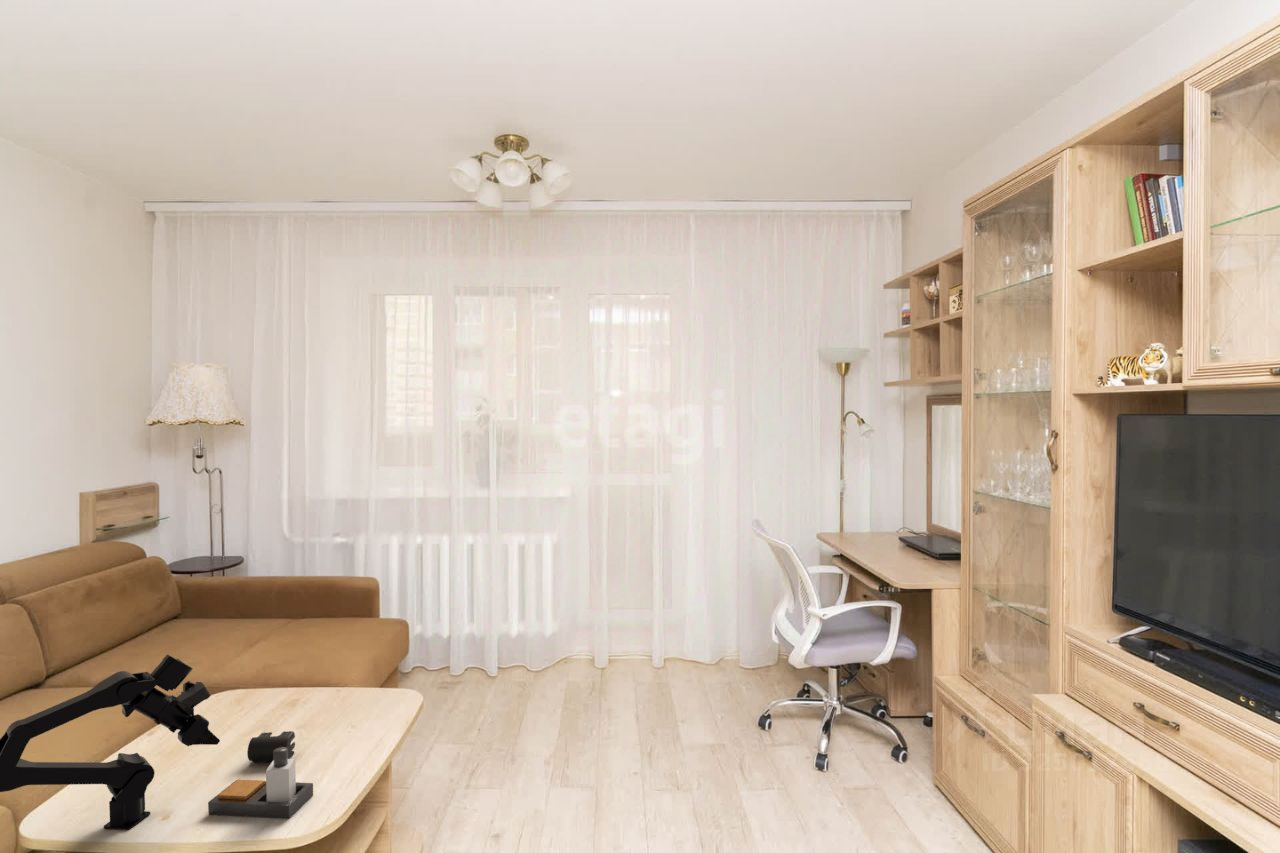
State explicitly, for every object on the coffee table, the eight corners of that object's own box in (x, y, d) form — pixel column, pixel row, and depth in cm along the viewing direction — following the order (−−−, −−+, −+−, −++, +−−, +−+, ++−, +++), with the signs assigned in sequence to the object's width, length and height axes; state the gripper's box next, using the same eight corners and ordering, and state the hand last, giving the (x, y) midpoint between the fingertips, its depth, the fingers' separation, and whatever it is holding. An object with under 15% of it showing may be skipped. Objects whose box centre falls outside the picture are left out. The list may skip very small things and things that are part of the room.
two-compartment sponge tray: (289, 818, 164) (288, 801, 164) (208, 814, 166) (208, 798, 166) (313, 795, 174) (312, 779, 174) (236, 791, 176) (236, 775, 176)
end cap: (247, 768, 188) (246, 742, 187) (259, 755, 195) (258, 730, 195) (286, 765, 189) (285, 740, 188) (296, 752, 196) (296, 728, 195)
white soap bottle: (266, 810, 166) (265, 756, 166) (273, 799, 171) (272, 746, 171) (289, 808, 167) (288, 754, 167) (296, 796, 172) (294, 744, 172)
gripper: (197, 686, 165) (249, 717, 174) (175, 666, 178) (225, 696, 186) (158, 730, 160) (214, 761, 168) (139, 707, 173) (192, 736, 181)
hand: (212, 736), depth 176 cm, fingers open, 9 cm apart
